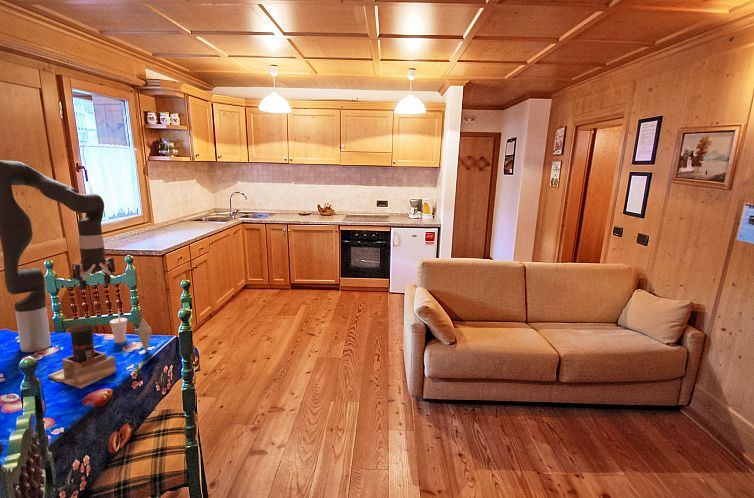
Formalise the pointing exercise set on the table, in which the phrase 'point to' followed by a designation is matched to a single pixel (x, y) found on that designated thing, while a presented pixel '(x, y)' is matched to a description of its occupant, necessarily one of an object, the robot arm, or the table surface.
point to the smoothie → (119, 328)
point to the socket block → (79, 364)
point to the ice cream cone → (144, 333)
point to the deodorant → (82, 343)
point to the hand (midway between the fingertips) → (96, 286)
